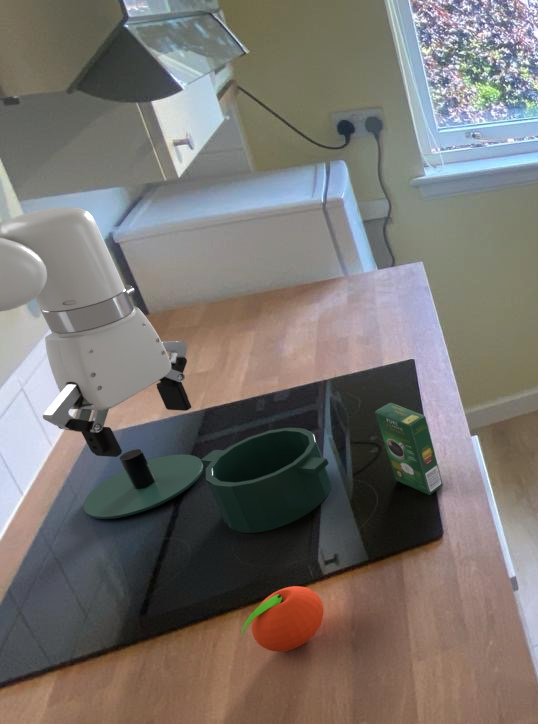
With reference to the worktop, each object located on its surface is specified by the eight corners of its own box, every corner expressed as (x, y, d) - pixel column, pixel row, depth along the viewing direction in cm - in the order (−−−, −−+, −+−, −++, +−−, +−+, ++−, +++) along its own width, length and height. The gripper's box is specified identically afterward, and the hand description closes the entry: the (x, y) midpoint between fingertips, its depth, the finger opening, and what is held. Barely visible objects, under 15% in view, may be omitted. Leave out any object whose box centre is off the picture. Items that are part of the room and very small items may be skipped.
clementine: (265, 683, 82) (244, 638, 79) (242, 651, 86) (221, 607, 83) (341, 633, 88) (323, 589, 85) (316, 605, 91) (299, 563, 88)
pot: (302, 538, 102) (283, 490, 99) (186, 527, 105) (164, 480, 101) (366, 476, 114) (351, 431, 111) (260, 467, 117) (243, 424, 113)
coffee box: (446, 485, 112) (426, 413, 106) (430, 497, 109) (408, 424, 104) (411, 470, 115) (390, 400, 110) (395, 481, 113) (372, 410, 107)
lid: (143, 526, 105) (125, 489, 103) (60, 518, 107) (39, 482, 105) (227, 462, 118) (212, 429, 115) (151, 456, 120) (135, 423, 117)
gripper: (131, 280, 95) (179, 392, 102) (-20, 346, 79) (49, 473, 86) (182, 282, 94) (228, 394, 101) (40, 349, 78) (106, 477, 85)
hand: (146, 430), depth 94 cm, fingers open, 9 cm apart
